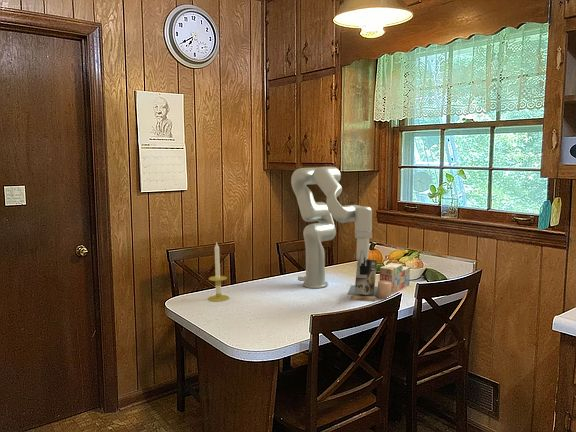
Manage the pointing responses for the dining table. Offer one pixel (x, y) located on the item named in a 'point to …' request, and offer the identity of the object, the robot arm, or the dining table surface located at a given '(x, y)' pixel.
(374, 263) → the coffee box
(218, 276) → the candle
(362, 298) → the stop strip
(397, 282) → the stack of blocks
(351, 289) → the mat
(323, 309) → the dining table surface
